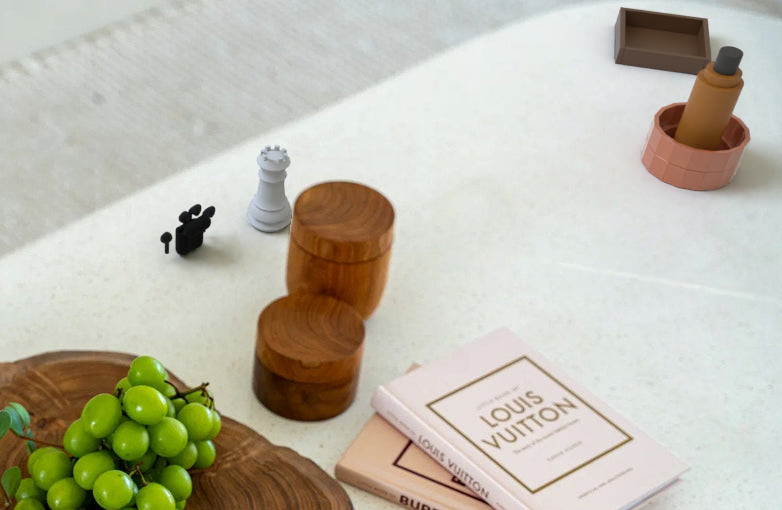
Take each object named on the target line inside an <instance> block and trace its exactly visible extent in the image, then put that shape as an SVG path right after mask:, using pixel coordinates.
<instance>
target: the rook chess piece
mask: <svg viewBox="0 0 782 510" xmlns="http://www.w3.org/2000/svg"><path fill="white" fill-rule="evenodd" d="M280 146H281V145H278V144H274V148H272V147H271V145H270V144H267V145H265V146H264V148H262V149H261V151H260V154H258V156H257V158H256V164H257V165H258V167H259V170H258V172H257V175H258V178H259V181H258V186H257V190H256V193H255V194H253V197H252V198H251V199H250V201H249V204H248V206H247V210H248V211H247V212H246V219H247V221H248V223H249V224H250V225H251V226H252V227H253V228H254V229H256V230H258V231H261V232H266V233H275V232H279V231H282V230H283V229H284V228H286V227H287V226H288V225H289V224H290V223H291V220H292V207H291V203H290V201H289V200H288V196H286V187H285V182H286V181H285V180H286V179H287V177H288V172H287V171H286V169H288V168H289V167H290V166H291V162H292V161H291V158H290V156H289V153H288V152H287V151H288V149H286V148H285V147H280ZM280 148H281V149H280ZM290 219H291V220H290Z"/></svg>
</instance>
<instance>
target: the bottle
mask: <svg viewBox="0 0 782 510" xmlns="http://www.w3.org/2000/svg"><path fill="white" fill-rule="evenodd" d="M743 57H744V51H743V50H742V49H740V48H738V47H736V46H732V45H725V46H722V47H721V48H719V51H718V53H717V56H716V59H715V61H711V63H709V64H708V65H707V66H706V69H703V70H701V71H700V72H699V73H698V75H696V78H695V80H694V83H693V86H692V89H691V92H690V94H689V97H688V99H687V101H686V102H687V104H686V107H685V110H684V112H683V115H682V117H681V120H680V123H679V125H678V128H677V131H676V133H675V136H674V140H675V141H677V142H678V143H681V144H684V145H687V146H689V147H692V148H695V149H701V150H708V151H717V149H718V147H719V144H720V142H721V139H722V137H723V134H724V132H725V130H726V127H727V125H728V122H729V120H730V118H731V115H732V114H733V113H734V110H735V108H736V106H737V103H738V101H739V98H740V96H741V93H742V91H743V89H744V86H745V81H744V79H743V71H742V69H741V68H740V64H741V62H742V60H743Z"/></svg>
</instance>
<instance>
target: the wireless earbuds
mask: <svg viewBox="0 0 782 510" xmlns="http://www.w3.org/2000/svg"><path fill="white" fill-rule="evenodd" d="M202 209H203V208H202V204H201V203H196V204H194V205H192V206H191V207H189V209H188V210H183V211H182V212H180V214H179V215H178V222H179V223H181V225H180V224H179V226H177V227H176V228H175V236H174V237H175V238H174V239H175V240H174V250H175V252H176V253H177V254H178V255H179V256H182V257H183V256H184V257H185V256H188V255H189V254H191V253H193V252H194V251H196V250H197V249H199V248H201V247H202V246H203V243H204V234H205V233H206V231H207V230H208V229H209V228H210V227H211V225H212V219H211V218H214V216H215V214H216V207H215V206H214V205H209V206H208V207H206V208H204V210H203V211H202ZM201 212H202V214H201ZM200 214H201V215H200ZM193 216H194V218H193ZM159 240H160V243H161V244H164V254H165V255H169V254H170V243H171V242H172V241H173V235H172V233H171V232H169V231H165V232H163V233H162V234H161V235H160V238H159Z"/></svg>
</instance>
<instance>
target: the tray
mask: <svg viewBox="0 0 782 510" xmlns="http://www.w3.org/2000/svg"><path fill="white" fill-rule="evenodd" d="M709 28H710V27H709V18H706V17H698V16H691V15H683V14H677V13H676V14H675V13H670V12H661V11H655V10H647V9H638V8H633V7H632V8H631V7H625V6H624V7H623V6H620V8H619V11H618V14H617V17H616V20H615V24H614V47H613V60H614V64H615V65H620V66H627V67H634V68H635V67H636V68H641V69H642V68H643V69H649V70H657V71H663V72H670V73H677V74H685V75H691V76H697V75H698V73H699V72H700V71H701V70H703V69H706V66H707V65H708V64H709V63H711V62H713V59H712V50H711V39H710V38H711V37H710V30H709Z"/></svg>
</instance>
